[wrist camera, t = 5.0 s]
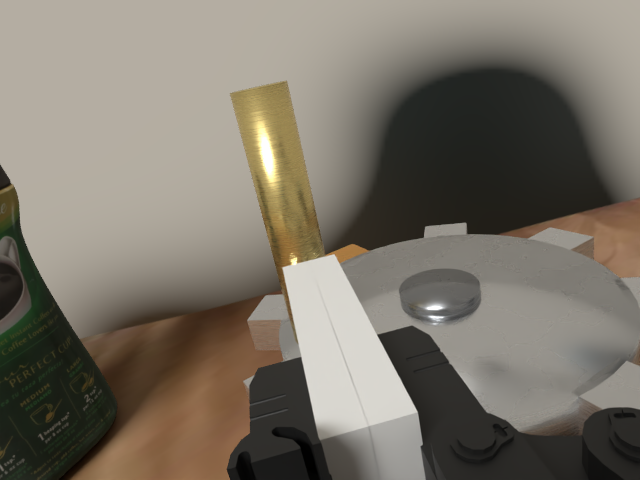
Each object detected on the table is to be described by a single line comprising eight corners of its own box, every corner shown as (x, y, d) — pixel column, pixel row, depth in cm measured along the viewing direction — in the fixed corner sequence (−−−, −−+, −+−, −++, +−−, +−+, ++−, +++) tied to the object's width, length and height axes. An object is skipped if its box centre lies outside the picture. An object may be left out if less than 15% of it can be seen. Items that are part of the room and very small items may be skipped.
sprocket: (517, 227, 35) (507, 27, 30) (859, 411, 16) (989, -66, 11) (250, 296, 33) (191, 97, 28) (260, 597, 14) (83, 138, 9)
